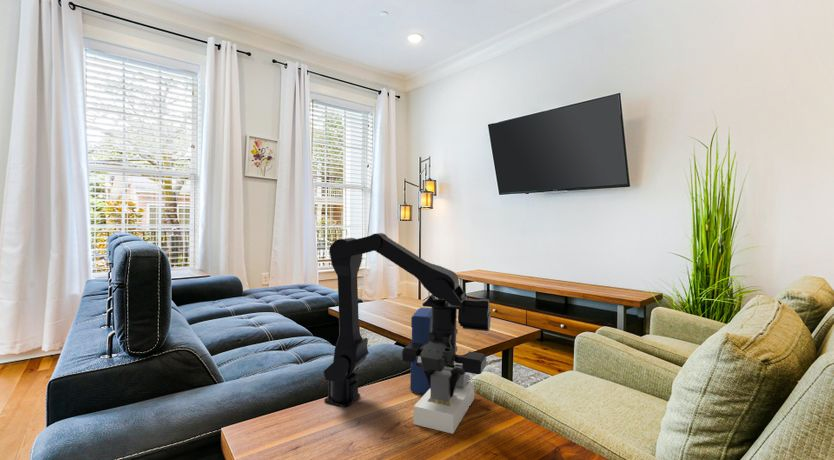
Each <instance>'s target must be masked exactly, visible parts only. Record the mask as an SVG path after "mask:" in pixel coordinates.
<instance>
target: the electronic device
mask: <svg viewBox="0 0 834 460" xmlns="http://www.w3.org/2000/svg"><path fill="white" fill-rule="evenodd" d="M410 323H411V325H410V327H411V342H414V343H420V344H425V345H426V344H427V342H428V339H429V333H430V332H431V307H419V308H418V309H417V310H415V312H414V313H413V314H412V316H411V322H410ZM410 363H411V364H410V387H409V388H410V392H412V393H413V394H422V395H424V394H425V393H426V392H427V391H428V390H429V389H430V386H429V383H428V380H427V377H426V375H425V373H424V371H423V370H422V369H421V368H420V367H417V366H416V363H417V359H416V360H415V361H414V362H413V363H412V362H410Z"/></svg>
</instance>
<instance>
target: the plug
mask: <svg viewBox="0 0 834 460" xmlns="http://www.w3.org/2000/svg"><path fill="white" fill-rule="evenodd" d="M451 378H452V375H451V371H447V370H442V371H440V372H438V371H435V372H434V373H433V374H432V375H431V394H430V398H434V399H435V403H437V404H443V401H445V405H446V406H450V398H451V396H450V388H451Z"/></svg>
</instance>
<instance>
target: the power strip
mask: <svg viewBox="0 0 834 460" xmlns="http://www.w3.org/2000/svg"><path fill="white" fill-rule="evenodd" d="M430 394H431V389H429V390H428V391H427V392H426V393H425V394H423V395H422V396H421V398H420V399H419V400H418V401H417V402H416V403H415V404H414V405H413V425H416V426H420V427H424V428H428V429H432V430H436V431H441V432H444V433H448V434H454V433H455V431H456V429H457V428H458V426H459V425H460V424H461V423H460V422H461V421H462V419H463V418H464V417H465V415H466V413H467V412H468V409H469V408H470V407H469V406H471V404H473V402H474V400H475V382H470V381H468V383H467V384H466V385H465V387H464V388H459V387H456V390H455V392H454V395H453V397H451V398H450V406H446V405H445V401H443V404H437V403H435V399H434V398H430Z"/></svg>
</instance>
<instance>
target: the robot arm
mask: <svg viewBox="0 0 834 460" xmlns="http://www.w3.org/2000/svg"><path fill="white" fill-rule="evenodd" d="M371 252H375V253H377V254H380V255H381V256H382V257H384V258H386V259H387V260H389V261H390V262H392V263H394V264H395V265H396V266H398V268H399V267H400V268H402V269H403V270H404V271H406V272H407V273H409V274H410V275H411V276H413V277H415V278H416V279H417V280H418V281H419V282H420V284H421V285H422V286H423V288H424V289H426V291H428V292H429V293H430V295H429V296H428V297H427V299H426V300H425V301H424V302H423V303H421V304H422V307H424V308H431V332H430V333H429V339H428V342H427V344H426V345H425V344H420V343H414V342H412V341H411V342H410V343H409V344H407V345H406V346H404V347H403V348H402V349H401V352H400V360H401V361H402V362H406V363H407V362H408V363H411V362H412V363H413V362H414V361H415V360H416V359H417V363H416V366H417V367H420V368H421V369H422V370H423V371H424V373H425V375H426V377H427V380H428V383H429V386H430V389H431V375H432V374H433V373H434V372H435V371H438V372H440V371H442V370H443V369H444V366H445V367H448V366H449V367H451V366H453V365H454V367H452V368H453V369H452V370H451V375H452V378H451V388H450V396H451V397H453V395H454V392H455V390H456V387H457V385H458V382H459V380H460V377H461V375H464V374H465V375H466V373H467V374H473V375H481V374H482V373H483V371H484V370H485V368H486V366H487V356H486V355H485V354H484V352H483V353H482V352H475V351H470V350H469V351H468V352H467V353H466V354H465V355H464V354H463V355H462V354H461V355H460V354H457V351H458V346H457V334H458V333H459V332H458V328H457V323H458V324H459V327H462V329H463V330H470V331H480V332H490V328H491V319H492V315H491V314H492V312H491V309H490V308H491V307H490V299H487V298H483V299H479V298H478V299H477V298H468V295H467V293H466V291H464V290H463V288H462V287H461V285H460V280H459V277H458V275H457V274H456V272H454V271H452V270H451V269H448V268H446V267H443V266H441V265H439V264H438V265H437V264H434V263H431V262H428V261H426V260H424V258H421V257H420V256H419V255H416V254H415V253H413V252H412V251H410V250H409V249H407V248H405V247H404V246H403V245H401V244H399V243H397V242H396V241H394V240H393V239H392V238H390V237H389V236H387V235H386V234H385V233H383V232H379V233H372V234H370V235H367V236H364V237H359V238H356V237H355V238H354V237H347V238H340V239H336V240H334V241H333V242H332V244H330V246H329V256H330V257H329V258H330V262H331V266H332V268H333V269H334V272H335V274H336V276H337V295H338V296H337V300H338V324H339V326H338V328H339V329H338V331H339V334H338V335H339V336H338V338H337V341H336V344H335V347H334V352H333V360H332V361H333V362H332V363H331V364H330V365H329V366H328V367H327V368H326V369H324V371H323V376H324V379H325V380H326V381H328V382H327V383H328V386H327V387H328V390H327V391H328V393H327V394H328V396H327V397H325V398H324V402H325V403H328V404H332V405H336V406H339V407H344V408H346V407H349V406H350V405H351V404H352V403H353V402H355V401H356V400H358V399H359V398H360V397H361V394H360V393H359V381H358V379H357V378H358V377H357V376H358V374H357V373H355V372H356V371H358V370H359V369H360V366H361V365H362V364H363V363H364V362H365V361H366V359H367V356H368V355H369V350H368V341H369V340H368V338H367V337H362V335H361V333H360V325H359V324H360V323H359V322H360V321H359V292H358V291H359V290H358V286H359V285H358V273H359V271H360V268H361V265H362V261H363V256H364V254H368V253H371ZM457 312H458V313H457Z"/></svg>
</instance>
